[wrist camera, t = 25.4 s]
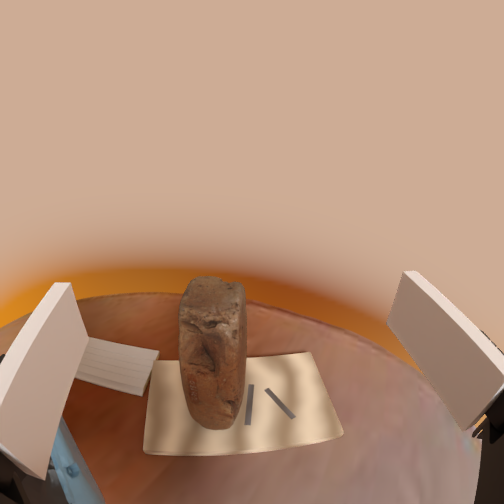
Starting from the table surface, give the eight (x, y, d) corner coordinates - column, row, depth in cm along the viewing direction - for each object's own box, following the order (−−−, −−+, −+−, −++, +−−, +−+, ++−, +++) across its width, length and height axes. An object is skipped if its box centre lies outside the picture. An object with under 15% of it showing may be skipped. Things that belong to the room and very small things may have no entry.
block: (201, 375, 43) (191, 268, 35) (247, 381, 43) (252, 273, 34) (185, 429, 33) (160, 323, 25) (238, 437, 33) (240, 333, 24)
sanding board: (145, 454, 30) (142, 449, 29) (154, 365, 46) (153, 360, 45) (341, 437, 34) (344, 432, 33) (308, 357, 50) (310, 351, 49)
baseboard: (140, 405, 38) (160, 356, 49) (136, 395, 37) (158, 345, 48) (14, 361, 39) (42, 328, 50) (9, 351, 38) (38, 318, 49)
